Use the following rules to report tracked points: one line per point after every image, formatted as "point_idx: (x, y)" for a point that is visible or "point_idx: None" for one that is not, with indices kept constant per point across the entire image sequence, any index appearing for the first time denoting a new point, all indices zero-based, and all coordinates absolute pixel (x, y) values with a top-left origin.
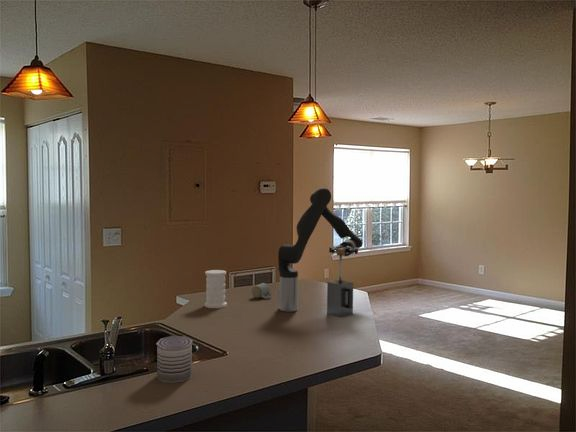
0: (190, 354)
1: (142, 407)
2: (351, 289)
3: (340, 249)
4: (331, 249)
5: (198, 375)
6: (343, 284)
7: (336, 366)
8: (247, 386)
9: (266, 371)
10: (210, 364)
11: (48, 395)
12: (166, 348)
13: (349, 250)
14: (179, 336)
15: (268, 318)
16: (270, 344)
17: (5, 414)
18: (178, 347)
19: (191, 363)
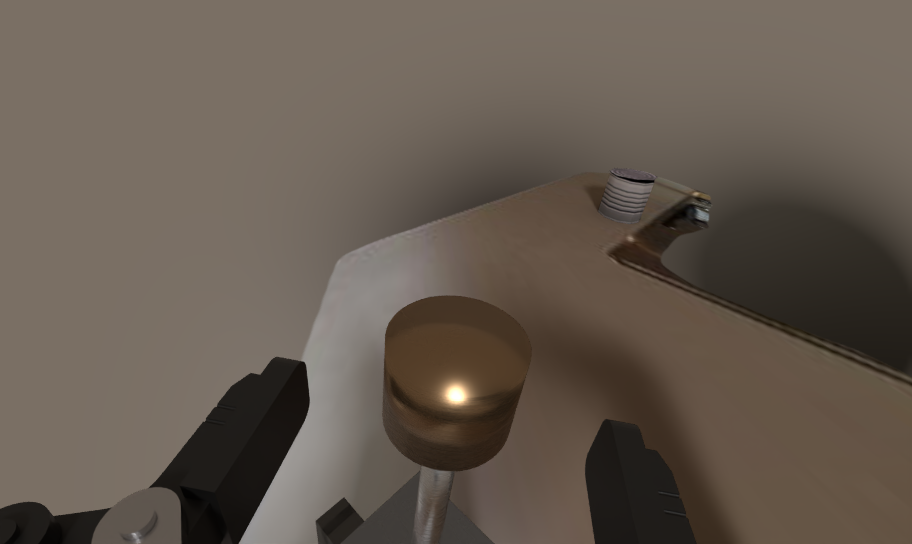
0: (608, 185)
1: (592, 183)
2: (327, 511)
3: (460, 296)
4: (669, 480)
5: (594, 215)
6: (392, 498)
7: (422, 225)
8: (523, 199)
9: (519, 218)
10: (604, 233)
11: (689, 197)
12: (627, 169)
13: (297, 361)
14: (643, 179)
15: (728, 502)
16: (564, 287)
17: (680, 184)
18: (617, 169)
19: (607, 202)
